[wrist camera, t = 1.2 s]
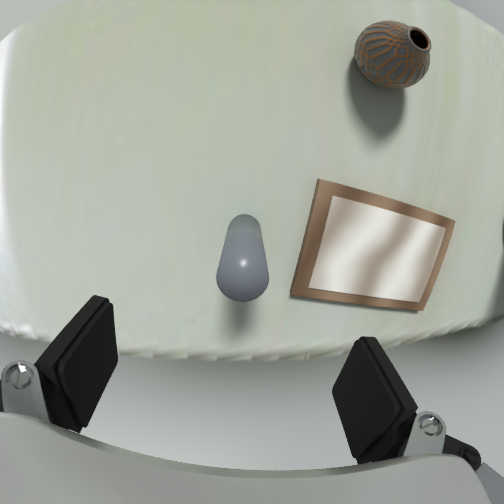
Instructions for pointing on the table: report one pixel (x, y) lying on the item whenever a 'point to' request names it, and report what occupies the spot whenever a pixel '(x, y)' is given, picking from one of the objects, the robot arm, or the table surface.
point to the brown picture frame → (369, 249)
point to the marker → (243, 261)
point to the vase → (393, 54)
